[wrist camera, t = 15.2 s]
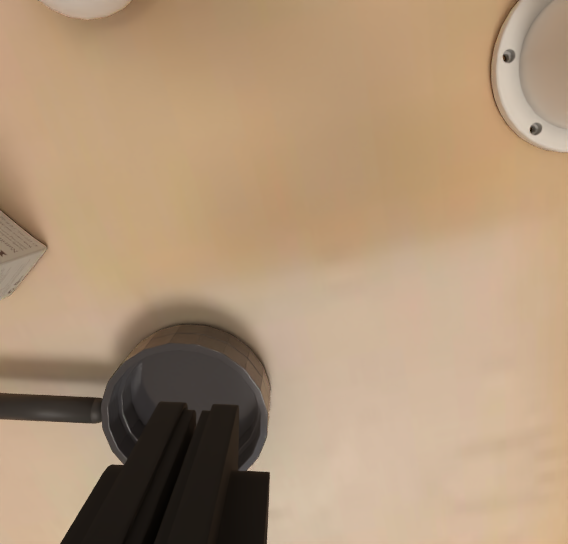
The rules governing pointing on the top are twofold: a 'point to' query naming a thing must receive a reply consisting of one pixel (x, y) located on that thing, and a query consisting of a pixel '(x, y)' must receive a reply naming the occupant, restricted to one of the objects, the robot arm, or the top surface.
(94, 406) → the pan handle
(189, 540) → the robot arm
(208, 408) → the pan
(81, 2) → the flower vase
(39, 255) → the cosmetic box
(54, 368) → the top surface
